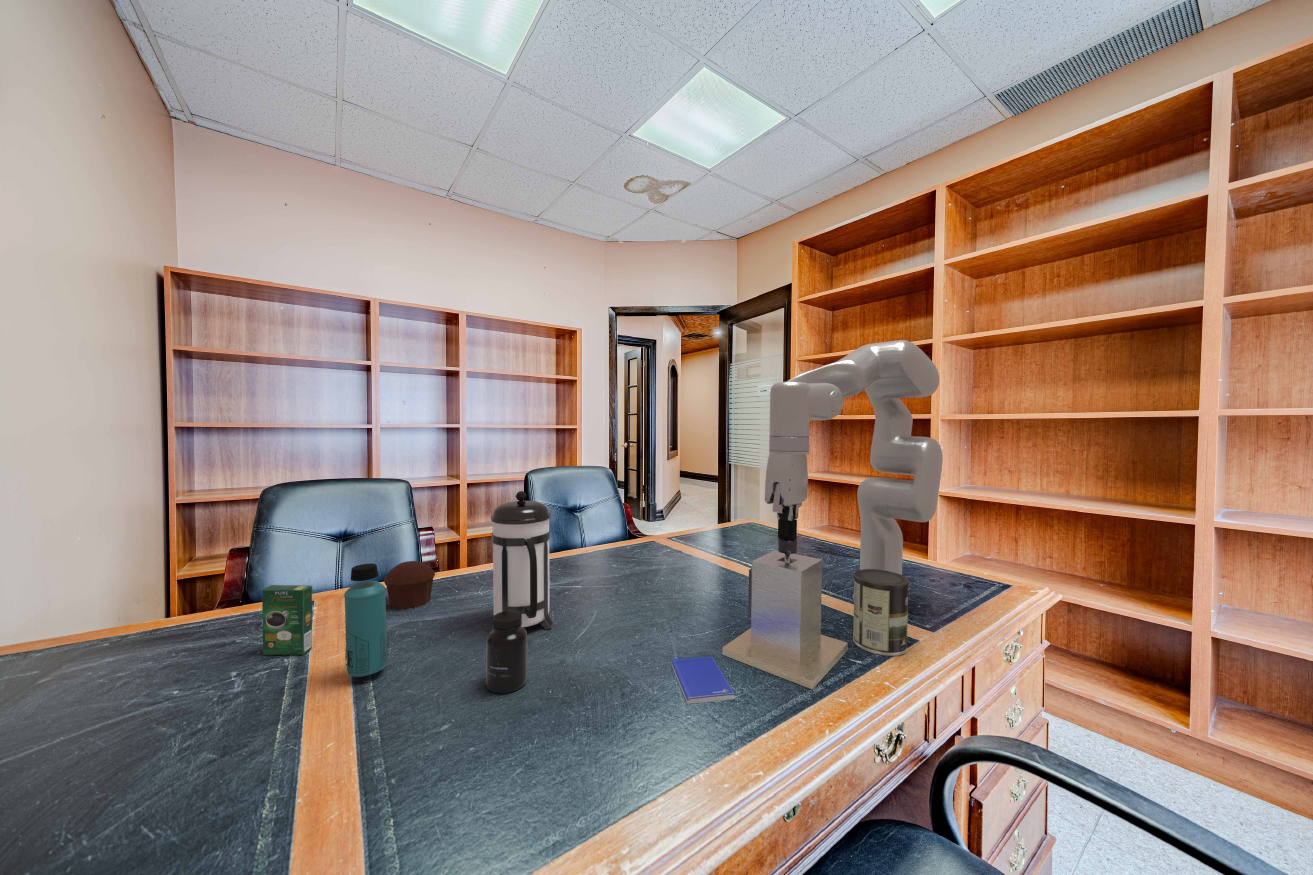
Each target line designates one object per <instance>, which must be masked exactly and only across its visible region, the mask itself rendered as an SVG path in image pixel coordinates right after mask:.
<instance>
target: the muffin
mask: <svg viewBox="0 0 1313 875" xmlns="http://www.w3.org/2000/svg"><path fill="white" fill-rule="evenodd" d="M435 576H436V573H435V571H434V570H433V568H431V567H430V566H429V565H428V564H426V563H424V562H422V561H419V560H407V561H403V562H401V563H398V564H397V565H395V566H394V567H392V568H391V569H390V570H389V571H388V573H387V574H386V576H385V577H384V578H383V582H384V586H385V588H386V591H387V595H388V602H389V606H390V607H391V609H392V608H396V609H395V610H399V609H404V610H408V609H409V608H413V609H416V608H418V606H419V607H422V606H425V605H426V604H427V603H428V602H430V601H431V597H432V590H433V583H434V578H435ZM421 605H422V606H421ZM415 607H416V608H415ZM409 610H410V609H409Z"/></svg>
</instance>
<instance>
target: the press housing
mask: <svg viewBox="0 0 1313 875" xmlns="http://www.w3.org/2000/svg"><path fill="white" fill-rule="evenodd" d="M822 580H823V559H822V558H819V557H818V558H816V557H811V556H807V555H803V554H802V555H801V554H797V553H795V554H790V563H787V562H785V553H781V552H779V551H778V549H774V550H772V551H769V552H768V553H766V554H764V555H761V556H760V557H758V558H755V559H754V560H752V561H751V568H750V569H748V605H747V606H748V609H747V610H748V612H747V613H748V615H747V616H748V618H750V626H751V627H750V628H749V629H746V631H744V632H742V633H741V634H740V635H738V636H737V637H735V638H734V639H732V640H731V641H729V642H728V643H727V644H725V645H723V646H722V655H723V656H725V657H727V658H730V659H733V660H734V661H737V662H740V663H742V664H746V665H748V666H750V667H752V668H755V669H758V670H760V671H763V672H766V673H769V674H771V675H772V676H773V675H774V676H775V677H779V678H781V679H783V680H786V681H789V682H791V683H794V684H797V685H800V686H801V687H804V688H807V689H810V690H813V689H814V688H816V686H817V685H818V684H819V683H820V682H821V681H822V679H823V678H825V676H826V675H828V673H829V672H830V670H831V669H833V667H834V666H835V665H836V664H837V663H838V662H839V661H840V660H841V659H842V657H844V655H845V654H846V653H847V652H848V651H849V650H848V649H849V643H848V642H846V641H843V640H840V639H836V638H833V637H829V636H826V635H823V634H822V590H823V588H822V586H823V585H822V584H823V581H822Z"/></svg>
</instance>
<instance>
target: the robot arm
mask: <svg viewBox="0 0 1313 875" xmlns="http://www.w3.org/2000/svg"><path fill="white" fill-rule="evenodd" d="M938 370H939V369H938V368H937V366H936V364H935V363H934V362H933V361H932V360H931V358H929V356H928V355H927V354H926V353H925V352H924V351H923V349H921V348H920V347H919V346H917V345H916V344H915V343H913V342H911V341H909V340H905V339H900V340H898V339H897V340H891V341H881V342H874V343H867V344H864V345H861V346H859V347H858V348H856V349H855V350H853V351H851V352H850V353H849V354H847V355H845V356H843V357H842V358H840V359H839V360H837V361H835V362H832V363H828V364H825V365H822V366H821V367H818V368H815V369H811V370H809V371H806V372H803V373H800V374H797V375H796V376H793V377H791V378H790V379H789V380H788V379H787V381H780V382H779V381H778V382H775V383H774V384H772V386H771V387H770V392H769V395H770V396H769V437H768V438H769V439H768V440H769V441H768V442H769V444H768V445H769V446H768V458H767V463H766V472H765V481H764V482H765V486H764V502H765V503H766V504H768V505H772V513H776V518H777V539H778V538H779V539H782V540H788V541H794V540H796V539H797V538H798V536H797V534H798V518H799V510H800V508H801V507H802V505H803V502H804V501H806V500H807V499H808V490H809V487H808V486H809V475H808V474H809V473H808V472H809V471H808V467H809V466H808V457H807V455H809V454H810V434H811V433H810V430H811V428H810V427H811V426H810V424H811V423H810V422H811V421H827V420H832V419H834V418H836V417H837V416H838V415H839V414H840V413H841V411H842V410H843V408H844V402H845V401H844V399H846V398H850V397H853V396H856V395H858V394H860V393H861V392H863V391H865V393H866V395H867V397H868V399H869V402H870V403H871V407H872V408H873V411H874V417H875V420H874V427H873V434H872V441H871V442H872V443H871V447H870V456H869V461H870V465H871V467H872V469H874V470H875V471H877V472H880V473H884V474H892V475H902V476H904V475H905V476H913V480H907V479H898V478H890V477H889V478H888V477H881V476H880V477H878V476H876V477H869V478H866V479H864V480H863V481H861V482H860V484H859V485H858V488H857V492H856V493H857V495H856V497H857V503H858V510H859V516H860V519H859V520H860V548H859V550H860V554H859V570H863V569H878V570H885V571H890V572H894V573H898V574H900V575H903V553H904V552H903V546H904V545H903V544H904V538H903V532H902V529H901V527H900V526H899V524H898V522H897V520H896V519H898V520H904V521H908V522H909V521H911V522H917V523H927V522H930V520H932V519H933V517H934V516H935V514H936V511H937V507H938V501H939V492H940V484H941V477H942V471H943V470H942V469H943V458H944V457H943V455H944V454H943V449H942V447H941V444H940V443H939V441H937V440H936V439H934V438H933V437H927V436H913V435H912V431H913V430H912V429H913V424H914V423H913V416H912V413H911V411H910V410H909V408H908V407H907V406H906V405H905V404H904V402H903V401H902V400H901V399H908V398H909V399H910V398H912V399H913V398H914V399H915V398H926V397H930V396H932V395H934V393H935V392H936V391H937V390H938V388H939V385H940V373H939V371H938ZM797 540H798V539H797ZM852 600H853V601H854V592H853V594H852Z"/></svg>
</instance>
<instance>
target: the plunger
mask: <svg viewBox="0 0 1313 875" xmlns="http://www.w3.org/2000/svg"><path fill="white" fill-rule="evenodd" d="M777 550H778V551H779V552H781V553H785V562H787V563H790V554H797V553H798V539H796V540H794V541H788V540H782V539H779V538H778V537H777Z"/></svg>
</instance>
